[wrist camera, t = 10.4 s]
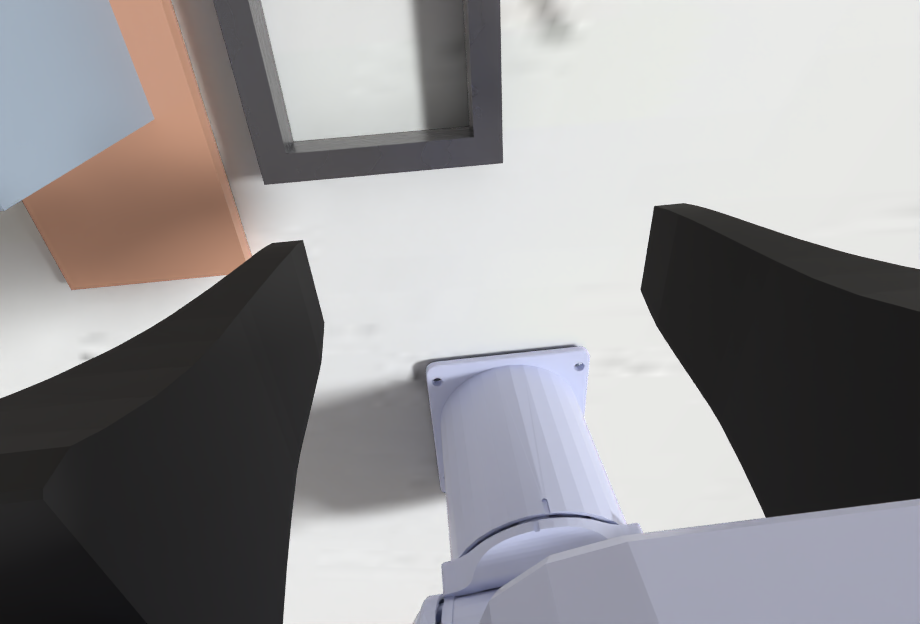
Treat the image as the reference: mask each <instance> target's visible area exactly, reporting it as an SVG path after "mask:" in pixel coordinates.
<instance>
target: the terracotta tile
mask: <svg viewBox="0 0 920 624" xmlns="http://www.w3.org/2000/svg"><path fill="white" fill-rule="evenodd" d="M109 2H110V5H111V7H112V10H113V13H114V15H115V18H116V20H117V23H118V25H119V28H120V31H121V33H122V36H123V38H124V41H125V44H126V46H127V49H128V51H129V54H130V57H131V59H132V62H133V64H134V67H135V70H136V72H137V75H138V77H139V80H140V83H141V85H142V88H143V90H144V93H145V95H146V98H147V101H148V103H149V106H150V108H151V111H152V114H153V116H154V120H152V121H151V122H149V123H148V124H146V125H144V126H143V127H141V128H139V129H138V130H136V131H134V132H133V133H131V134H129V135H128V136H126V137H125V138H123V139H121V140H120V141H118V142H116V143H115V144H113V145H111V146H110V147H108V148H107V149H105V150H103V151H102V152H100V153H98V154H97V155H95V156H93V157H92V158H90V159H88V160H87V161H85V162H84V163H82V164H80V165H79V166H77V167H75V168H74V169H72V170H70V171H69V172H67V173H65V174H64V175H62V176H61V177H59V178H57V179H56V180H54V181H52V182H51V183H49V184H47V185H46V186H44V187H43V188H41V189H39V190H38V191H36V192H34V193H33V194H31V195H29V196H28V197H26V198H24V199H23V200H22V202H23V203H24V205H25V207H26V209H27V211H28V212H29V214H30V216H31V218H32V220H33V221H34V223H35V225H36V227H37V229H38V231H39V232H40V234H41V236H42V238H43V240H44V241H45V243H46V245H47V247H48V249H49V250H50V252H51V254H52V256H53V258H54V259H55V261H56V263H57V265H58V267H59V269H60V270H61V272H62V274H63V276H64V278H65V279H66V281H67V283H68V285H69V287H70V288H71V290H76V289H87V288H97V287H107V286H117V285H128V284H138V283H148V282H158V281H169V280H179V279H189V278H199V277H210V276H220V275H228V274H229V273H231V272H232V271H233V270H235V269H236V268H237V267H239V266H240V265H241V264H243V263H244V262H245V261H247V260H248V259H249V258H251V257H252V255H251V252H250V249H249V245H248V242H247V239H246V236H245V233H244V230H243V226H242V223H241V220H240V217H239V214H238V211H237V207H236V204H235V201H234V198H233V195H232V192H231V189H230V185H229V182H228V179H227V176H226V173H225V170H224V166H223V163H222V160H221V157H220V154H219V151H218V147H217V144H216V141H215V138H214V135H213V132H212V128H211V125H210V122H209V119H208V116H207V113H206V110H205V106H204V103H203V100H202V97H201V94H200V91H199V87H198V84H197V81H196V78H195V75H194V72H193V68H192V65H191V62H190V59H189V56H188V53H187V49H186V46H185V43H184V40H183V37H182V34H181V31H180V27H179V24H178V21H177V18H176V15H175V12H174V8H173V5H172V2H171V0H109Z"/></svg>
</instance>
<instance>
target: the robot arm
mask: <svg viewBox="0 0 920 624" xmlns="http://www.w3.org/2000/svg"><path fill="white" fill-rule="evenodd" d="M641 292H642V294H643V297H644V299H645V302H646V304H647V306H648V309H649V311H650V313H651V315H652V317H653V319H654V321H655V323H656V326H657V327H658V329H659V331H660V332H661V334H662V335H663V337H664V338H665V340H666V341H667V343H668V344H669V346H670V348H671V349H672V351H673V352H674V354H675V355H676V357H677V358H678V360H679V361H680V363H681V364H682V366H683V367H684V369H685V370H686V371H687V373H688V374H689V376H690V377H691V379H692V380H693V382H694V383H695V385H696V386H697V388H698V389H699V391H700V392H701V394H702V395H703V397H704V398H705V400H706V401H707V403H708V404H709V406H710V407H711V409H712V411H713V412H714V414H715V416H716V417H717V419H718V421H719V422H720V424H721V426H722V428H723V430H724V432H725V434H726V436H727V438H728V440H729V442H730V444H731V446H732V447H733V449H734V451H735V453H736V455H737V457H738V459H739V461H740V463H741V465H742V467H743V469H744V471H745V474H746V476H747V478H748V480H749V482H750V484H751V486H752V488H753V491H754V493H755V495H756V497H757V499H758V501H759V503H760V506H761V508H762V510H763V512H764V514H765V517H766V518H761V519H753V520H745V521H737V522H729V523H721V524H713V525H705V526H696V527H688V528H680V529H672V530H664V531H656V532H648V533H643V531H642V529H641V526H640V524H638V523H633V524H627V523H626V520H625V518H624V515H623V513H622V510H621V508H620V505H619V503H618V500H617V498H616V496H615V493H614V491H613V488H612V486H611V483H610V481H609V478H608V476H607V473H606V471H605V468H604V466H603V463H602V461H601V458H600V456H599V453H598V451H597V448H596V446H595V443H594V441H593V438H592V436H591V433H590V431H589V428H588V426H587V423H586V421H585V418H584V414H585V404H586V393H587V383H588V372H589V362H590V355H589V352H588V350H587V349H586V348H584V347H570V348H560V349H551V350H541V351H532V352H522V353H513V354H504V355H494V356H485V357H475V358H466V359H456V360H447V361H437V362H432V363H430V364H429V365H428V366H427V367H426V379H427V387H428V394H429V402H430V410H431V418H432V426H433V433H434V441H435V449H436V457H437V465H438V472H439V480H440V488H441V491H442V492H444V493H446V502H447V515H448V527H449V539H450V552H451V561H448V562H444V563H443V564H442V582H443V594H438V595H432V596H429V597H427V598H426V599H425V600H424V602H423V604H422V607H421V610H420V611H419V613H418V615H417V616H416V618H415V620H414V622H413V624H920V269H915V268H910V267H905V266H900V265H896V264H891V263H887V262H883V261H878V260H874V259H869V258H865V257H861V256H857V255H853V254H849V253H845V252H841V251H838V250H834V249H831V248H827V247H824V246H821V245H817V244H814V243H810V242H807V241H804V240H800V239H797V238H794V237H791V236H788V235H785V234H782V233H779V232H776V231H773V230H770V229H767V228H764V227H761V226H758V225H755V224H752V223H749V222H746V221H744V220H741V219H738V218H735V217H732V216H729V215H726V214H723V213H720V212H717V211H713V210H710V209H707V208H703V207H699V206H695V205H690V204H684V203H682V204H671V205H661V206H654V211H653V217H652V224H651V230H650V236H649V242H648V248H647V254H646V260H645V267H644V273H643V279H642V285H641ZM323 335H324V320H323V316H322V312H321V308H320V305H319V301H318V297H317V293H316V289H315V285H314V281H313V277H312V274H311V270H310V266H309V262H308V258H307V254H306V250H305V246H304V243H303V240H300V241H289V242H279V243H272V244H270V245H268V246H266V247H265V248H263V249H262V250H260V251H259V252H257V253H256V254H255V255H253V256H252V257H251V258H249V259H248V260H247V261H245V262H244V263H243V264H241V265H240V266H239V267H237V268H236V269H235V270H233V271H232V272H231V273H229V274H228V275H227V276H226V277H224V278H223V279H222V280H220V281H219V282H218V283H216V284H215V285H214V286H212V287H211V288H210V289H208V290H207V291H205V292H204V293H202V294H201V295H199V296H198V297H197V298H195V299H194V300H192V301H191V302H189V303H188V304H186V305H185V306H184V307H182V308H181V309H179V310H178V311H176V312H175V313H173V314H172V315H170V316H169V317H167V318H166V319H164V320H163V321H161V322H159V323H158V324H156V325H154V326H153V327H151V328H149V329H148V330H146V331H144V332H142V333H141V334H139V335H137V336H135V337H133V338H132V339H130V340H128V341H126V342H124V343H123V344H121V345H119V346H117V347H115V348H113V349H111V350H109V351H107V352H105V353H103V354H101V355H99V356H97V357H95V358H92V359H90V360H88V361H86V362H84V363H82V364H80V365H78V366H76V367H73V368H71V369H69V370H67V371H65V372H63V373H61V374H59V375H57V376H54V377H52V378H50V379H48V380H45V381H43V382H40V383H38V384H36V385H33V386H31V387H28V388H26V389H23V390H21V391H18V392H16V393H14V394H11V395H8V396H6V397H3V398H1V399H0V624H283V612H284V599H285V585H286V571H287V560H288V549H289V539H290V528H291V518H292V509H293V500H294V492H295V483H296V474H297V468H298V463H299V457H300V452H301V448H302V444H303V439H304V435H305V431H306V427H307V422H308V418H309V414H310V410H311V405H312V401H313V397H314V393H315V388H316V384H317V380H318V375H319V371H320V366H321V360H322V349H323ZM577 363H582V364H580V365H579V366H575V365H576V364H577ZM436 378H440V379H441V380H439V381H434V379H436Z"/></svg>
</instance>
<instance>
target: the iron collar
mask: <svg viewBox="0 0 920 624" xmlns="http://www.w3.org/2000/svg"><path fill="white" fill-rule="evenodd" d="M213 1H214V5H215V8H216V12H217V16H218V19H219V23H220V26H221V30H222V34H223V37H224V41H225V44H226V48H227V52H228V55H229V59H230V62H231V66H232V70H233V73H234V77H235V80H236V84H237V88H238V91H239V95H240V98H241V102H242V106H243V109H244V113H245V116H246V120H247V124H248V127H249V131H250V134H251V138H252V142H253V145H254V149H255V152H256V156H257V160H258V163H259V167H260V170H261V174H262V178H263V181H264V185H267V184H278V183H289V182H300V181H311V180H322V179H333V178H344V177H355V176H366V175H377V174H388V173H399V172H410V171H421V170H432V169H443V168H454V167H465V166H476V165H487V164H498V163H503V143H502V85H501V27H500V0H463V10H464V30H465V50H466V69H467V89H468V108H469V127H457V128H446V129H434V130H423V131H412V132H400V133H389V134H377V135H366V136H355V137H343V138H332V139H320V140H309V141H298V142H294V141H293V137H292V133H291V128H290V124H289V120H288V116H287V111H286V107H285V103H284V99H283V94H282V90H281V86H280V82H279V77H278V73H277V69H276V65H275V60H274V56H273V52H272V48H271V43H270V39H269V35H268V31H267V26H266V22H265V18H264V14H263V9H262V5H261V1H260V0H213Z"/></svg>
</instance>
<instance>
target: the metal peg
mask: <svg viewBox="0 0 920 624" xmlns="http://www.w3.org/2000/svg"><path fill="white" fill-rule="evenodd" d="M152 120H154V116H153V114H152V111H151V108H150V106H149V103H148V101H147V98H146V95H145V93H144V90H143V88H142V85H141V83H140V80H139V77H138V75H137V72H136V70H135V67H134V64H133V62H132V59H131V57H130V54H129V51H128V49H127V46H126V44H125V41H124V38H123V36H122V33H121V31H120V28H119V25H118V23H117V20H116V18H115V15H114V13H113V10H112V7H111V5H110V2H109V0H0V211H5V210H6V209H8V208H10V207H11V206H13V205H15V204H16V203H18V202H20V201H21V200H23V199H24V198H26V197H28V196H29V195H31V194H33V193H34V192H36V191H38V190H39V189H41V188H43V187H44V186H46V185H47V184H49V183H51V182H52V181H54V180H56V179H57V178H59V177H61V176H62V175H64V174H65V173H67V172H69V171H70V170H72V169H74V168H75V167H77V166H79V165H80V164H82V163H84V162H85V161H87V160H88V159H90V158H92V157H93V156H95V155H97V154H98V153H100V152H102V151H103V150H105V149H107V148H108V147H110V146H111V145H113V144H115V143H116V142H118V141H120V140H121V139H123V138H125V137H126V136H128V135H129V134H131V133H133V132H134V131H136V130H138V129H139V128H141V127H143V126H144V125H146V124H148V123H149V122H151V121H152Z"/></svg>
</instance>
